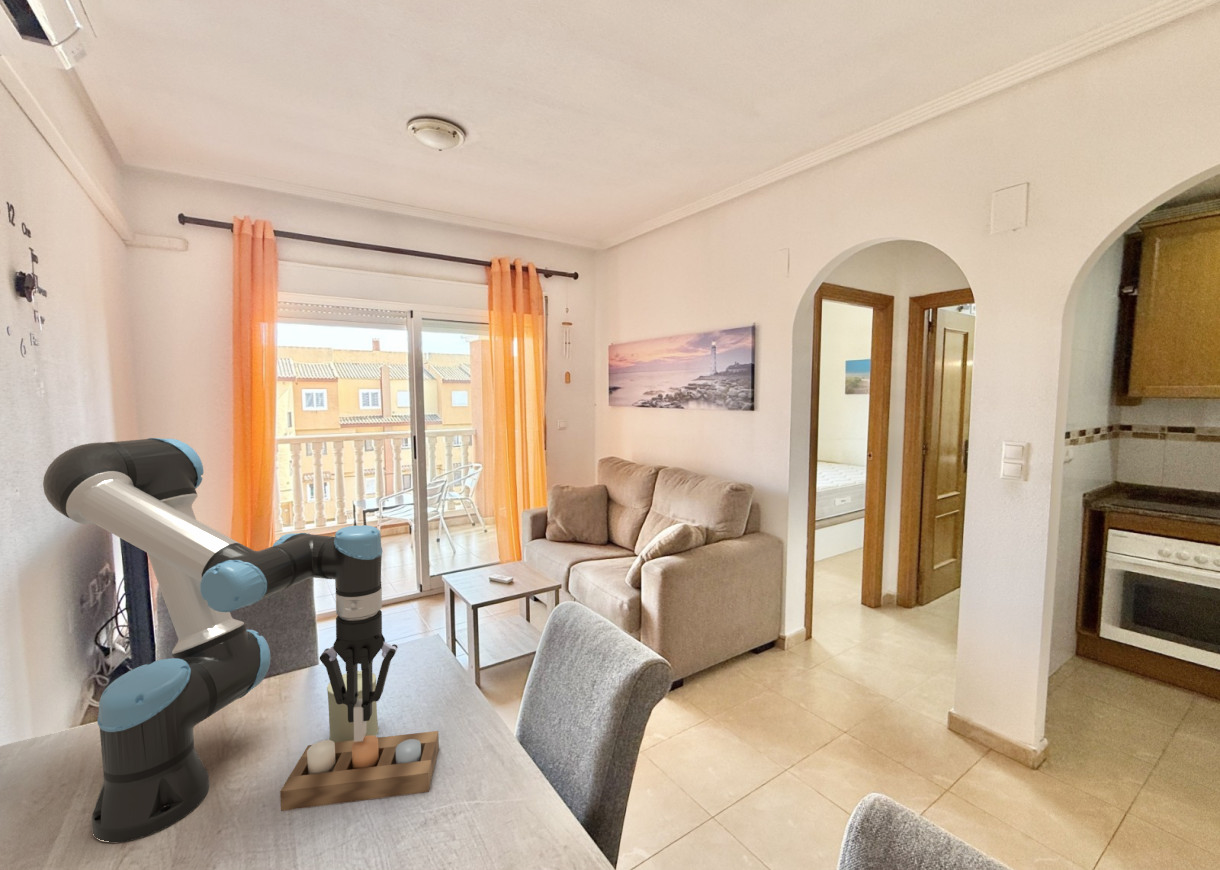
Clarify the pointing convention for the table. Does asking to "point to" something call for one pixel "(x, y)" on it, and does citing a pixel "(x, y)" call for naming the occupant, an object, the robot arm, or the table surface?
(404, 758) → the blue-grey egg
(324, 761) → the white egg
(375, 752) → the orange egg
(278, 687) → the table surface
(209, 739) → the table surface
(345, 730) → the can
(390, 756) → the wooden egg holder
